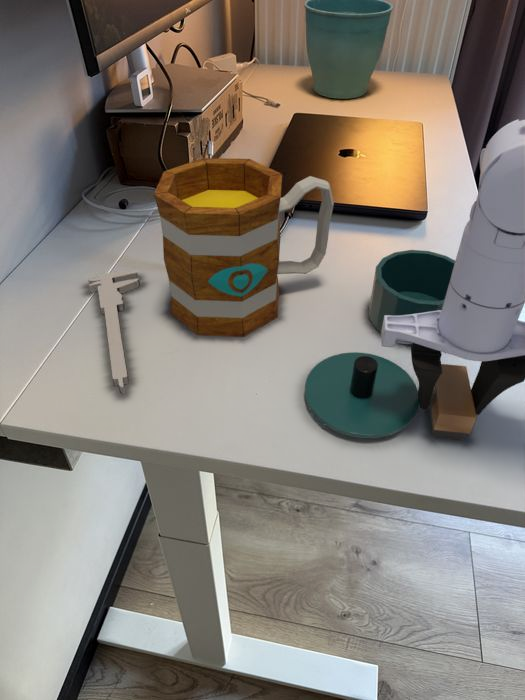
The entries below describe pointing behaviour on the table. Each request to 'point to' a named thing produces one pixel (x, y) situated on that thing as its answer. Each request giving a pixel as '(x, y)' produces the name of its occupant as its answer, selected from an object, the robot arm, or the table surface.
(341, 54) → the flower pot
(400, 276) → the pot
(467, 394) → the tall bronze cuboid
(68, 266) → the table surface
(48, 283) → the table surface
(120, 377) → the caliper
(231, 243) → the mug
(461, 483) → the table surface
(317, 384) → the pot lid
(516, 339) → the robot arm
